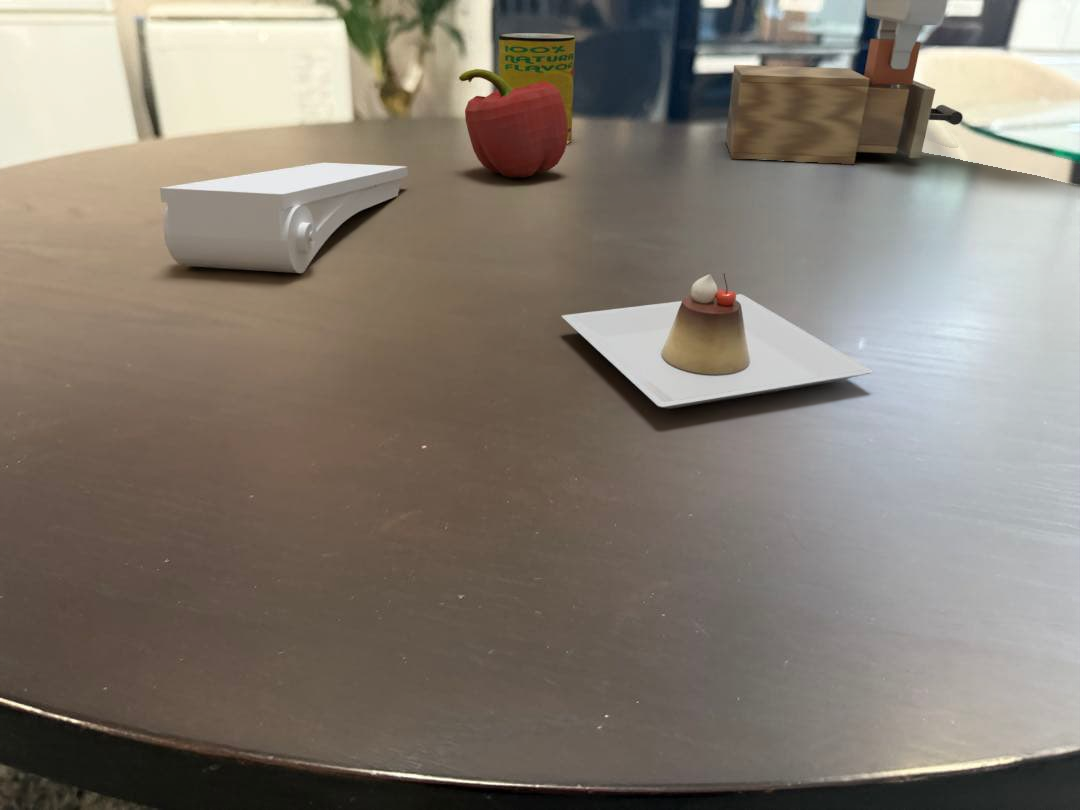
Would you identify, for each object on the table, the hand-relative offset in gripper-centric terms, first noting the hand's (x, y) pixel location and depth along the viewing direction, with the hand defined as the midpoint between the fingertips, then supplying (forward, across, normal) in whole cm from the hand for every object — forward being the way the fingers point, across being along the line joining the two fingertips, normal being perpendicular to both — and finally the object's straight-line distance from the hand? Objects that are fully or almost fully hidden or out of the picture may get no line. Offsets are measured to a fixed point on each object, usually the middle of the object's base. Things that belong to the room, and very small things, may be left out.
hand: (891, 66), depth 94 cm
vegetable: (+10, -19, +40) cm, 46 cm away
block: (+2, 0, 0) cm, 2 cm away
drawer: (+9, 0, 0) cm, 9 cm away
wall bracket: (+10, -42, +53) cm, 68 cm away
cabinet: (+10, 0, +10) cm, 14 cm away
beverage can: (+10, +1, +41) cm, 42 cm away
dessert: (+10, -64, +22) cm, 68 cm away
